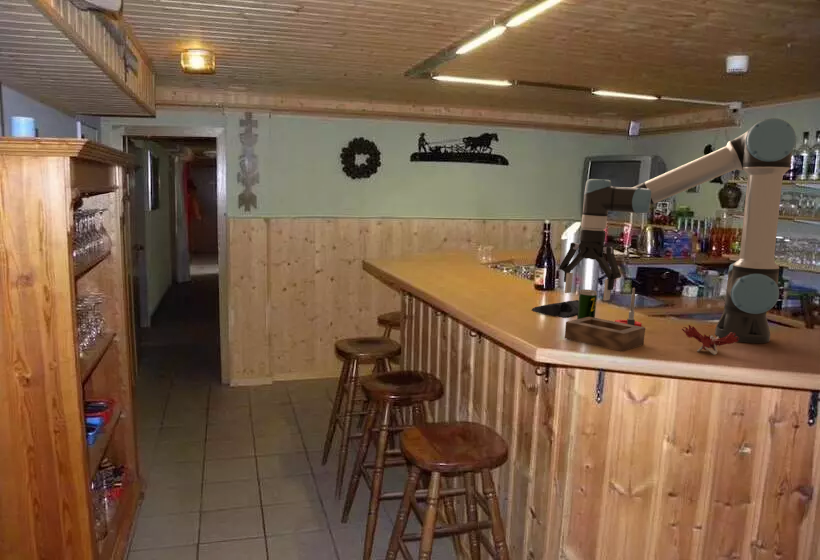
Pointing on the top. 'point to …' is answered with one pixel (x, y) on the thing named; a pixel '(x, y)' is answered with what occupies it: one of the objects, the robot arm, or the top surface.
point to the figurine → (710, 339)
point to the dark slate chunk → (559, 309)
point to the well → (605, 333)
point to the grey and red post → (631, 313)
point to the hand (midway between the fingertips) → (586, 296)
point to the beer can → (587, 303)
